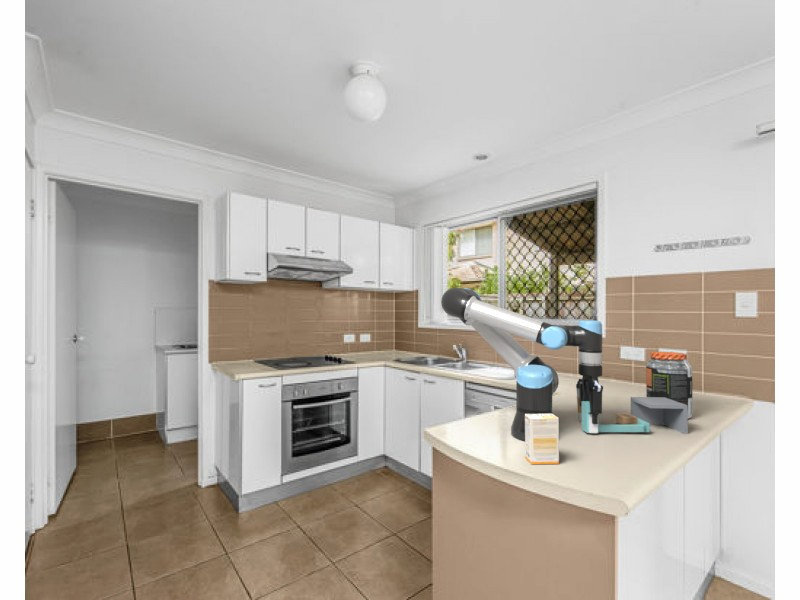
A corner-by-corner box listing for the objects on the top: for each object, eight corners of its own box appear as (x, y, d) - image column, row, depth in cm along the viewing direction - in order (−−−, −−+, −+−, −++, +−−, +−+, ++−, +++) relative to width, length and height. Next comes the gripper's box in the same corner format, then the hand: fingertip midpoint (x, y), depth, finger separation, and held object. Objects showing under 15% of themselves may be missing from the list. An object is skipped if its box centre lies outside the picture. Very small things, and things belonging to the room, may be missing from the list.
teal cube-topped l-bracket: (587, 432, 134) (586, 404, 134) (573, 423, 145) (573, 396, 145) (651, 433, 133) (650, 404, 133) (632, 423, 144) (632, 396, 144)
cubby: (650, 433, 136) (650, 404, 136) (630, 423, 148) (630, 396, 148) (687, 433, 136) (687, 405, 136) (664, 423, 148) (664, 397, 148)
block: (623, 431, 138) (623, 417, 138) (615, 427, 143) (615, 413, 143) (637, 432, 138) (637, 418, 138) (629, 427, 143) (629, 414, 143)
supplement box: (552, 458, 113) (552, 413, 113) (559, 464, 108) (559, 417, 108) (524, 458, 112) (524, 413, 113) (530, 464, 108) (530, 417, 108)
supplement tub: (701, 418, 155) (701, 354, 156) (675, 422, 149) (675, 355, 150) (662, 408, 170) (662, 350, 170) (637, 412, 164) (637, 351, 165)
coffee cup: (602, 424, 146) (602, 385, 146) (578, 423, 147) (578, 383, 147) (595, 418, 154) (595, 380, 154) (573, 417, 155) (573, 379, 156)
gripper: (613, 367, 127) (613, 439, 127) (589, 360, 144) (589, 423, 144) (591, 367, 128) (590, 438, 127) (569, 360, 145) (569, 423, 144)
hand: (590, 430), depth 136 cm, fingers closed on teal cube-topped l-bracket, 4 cm apart
